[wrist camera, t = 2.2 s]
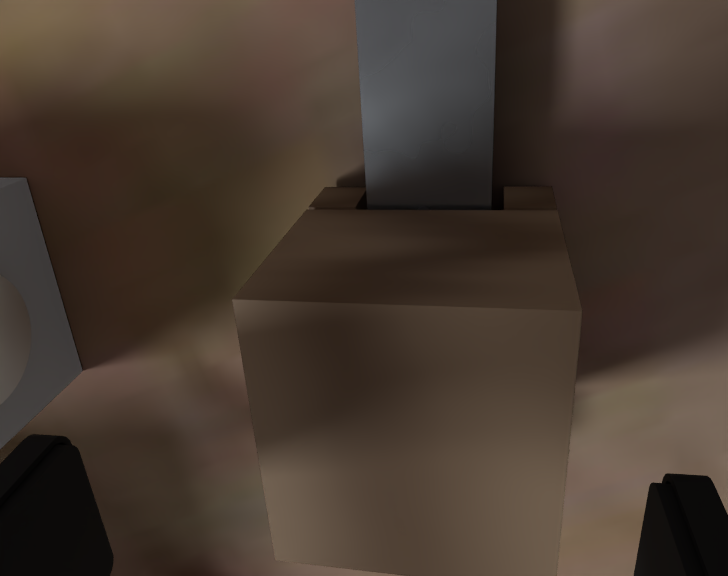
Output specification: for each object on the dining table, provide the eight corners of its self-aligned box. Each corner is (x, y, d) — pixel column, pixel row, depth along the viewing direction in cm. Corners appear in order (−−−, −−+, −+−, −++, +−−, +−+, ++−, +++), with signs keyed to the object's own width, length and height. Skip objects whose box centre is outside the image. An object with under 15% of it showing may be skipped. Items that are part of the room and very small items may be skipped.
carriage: (551, 186, 16) (582, 310, 10) (537, 396, 19) (555, 592, 13) (325, 187, 18) (232, 299, 11) (342, 385, 20) (275, 560, 14)
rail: (509, -468, 12) (513, -626, 9) (485, 446, 21) (482, 528, 18) (349, -436, 12) (298, -573, 9) (393, 439, 21) (375, 518, 18)
